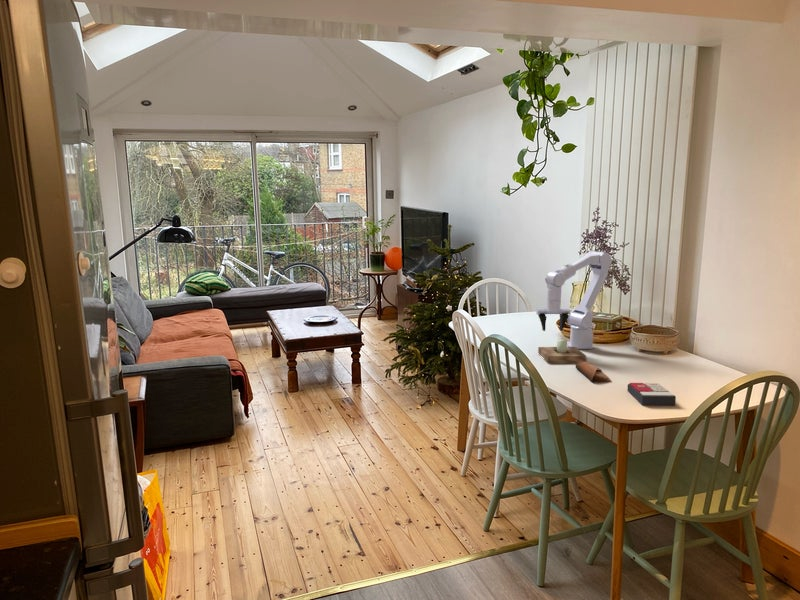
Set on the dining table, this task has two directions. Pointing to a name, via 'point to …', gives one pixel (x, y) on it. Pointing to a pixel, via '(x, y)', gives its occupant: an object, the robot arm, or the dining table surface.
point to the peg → (561, 345)
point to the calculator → (651, 394)
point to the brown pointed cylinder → (592, 372)
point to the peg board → (561, 355)
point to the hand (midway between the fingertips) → (552, 330)
